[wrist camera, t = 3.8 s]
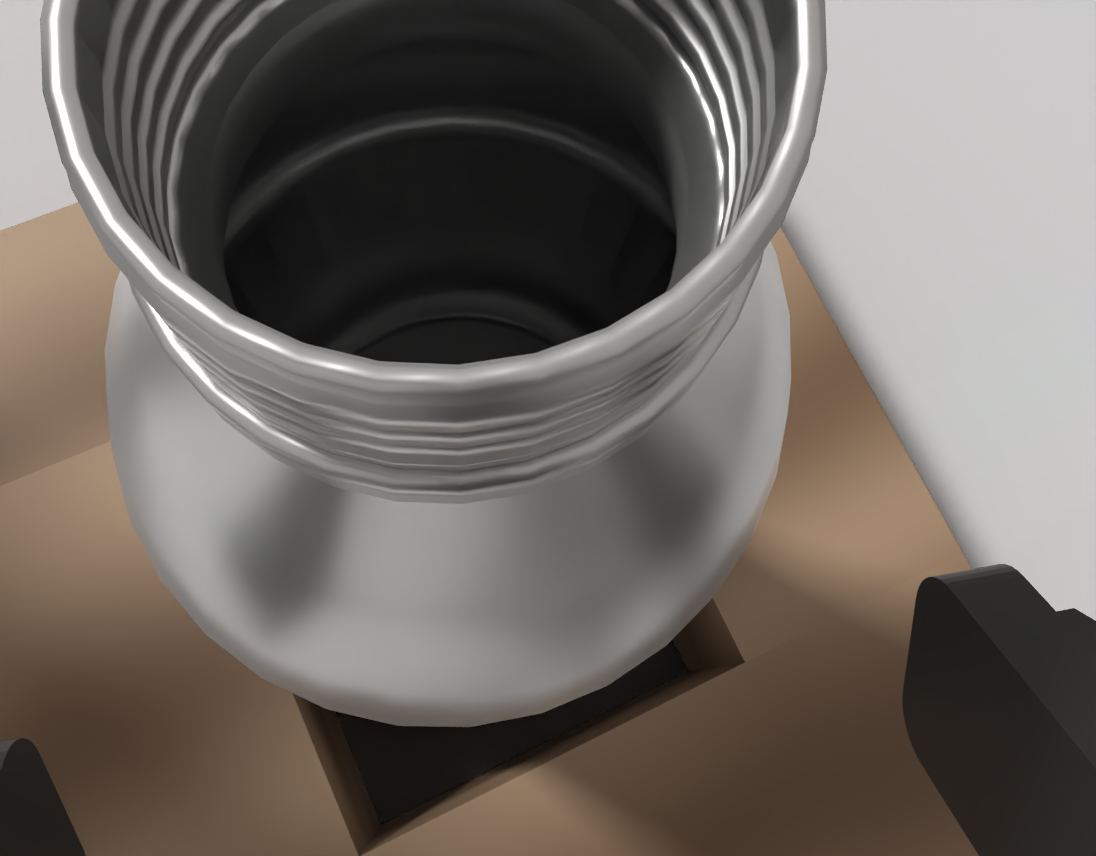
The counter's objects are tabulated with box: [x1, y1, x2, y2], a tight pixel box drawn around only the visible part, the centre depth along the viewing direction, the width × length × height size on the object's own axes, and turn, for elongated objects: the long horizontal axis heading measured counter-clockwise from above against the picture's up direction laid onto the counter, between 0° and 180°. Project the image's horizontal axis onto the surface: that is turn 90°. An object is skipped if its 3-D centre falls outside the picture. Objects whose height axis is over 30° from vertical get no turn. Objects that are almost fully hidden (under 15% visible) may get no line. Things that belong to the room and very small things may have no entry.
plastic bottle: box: [40, 0, 827, 727], centre depth 14 cm, size 6×7×20 cm
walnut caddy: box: [0, 202, 979, 856], centre depth 22 cm, size 18×17×5 cm
